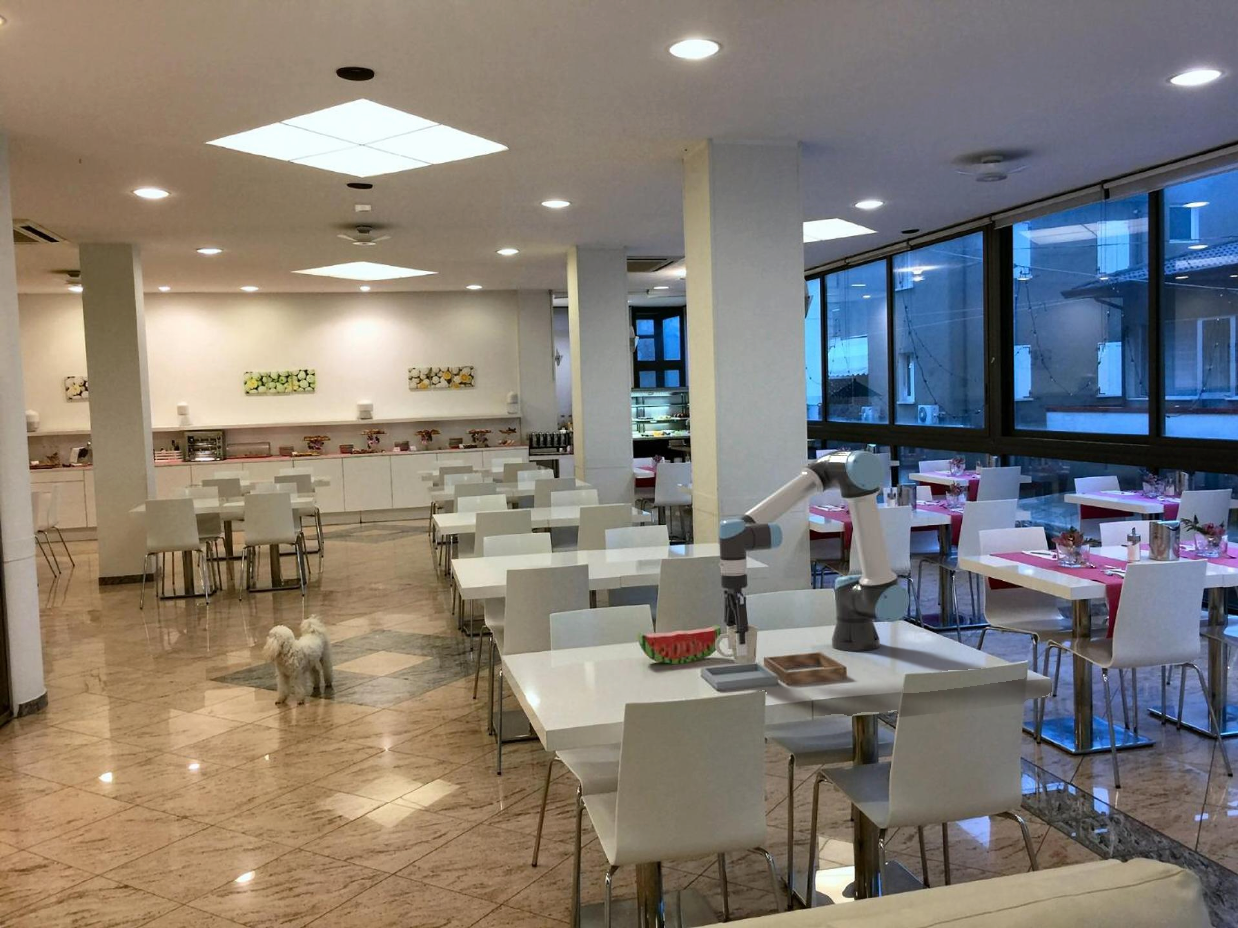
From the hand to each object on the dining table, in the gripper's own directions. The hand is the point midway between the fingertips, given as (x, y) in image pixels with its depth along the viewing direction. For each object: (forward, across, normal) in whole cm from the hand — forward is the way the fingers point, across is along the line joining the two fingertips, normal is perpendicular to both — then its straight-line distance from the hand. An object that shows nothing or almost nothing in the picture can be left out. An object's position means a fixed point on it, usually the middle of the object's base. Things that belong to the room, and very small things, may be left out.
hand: (737, 651), depth 286 cm
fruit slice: (+9, -29, -10) cm, 32 cm away
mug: (+3, 0, 0) cm, 3 cm away
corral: (+8, 0, +20) cm, 22 cm away
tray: (+8, 0, 0) cm, 8 cm away
